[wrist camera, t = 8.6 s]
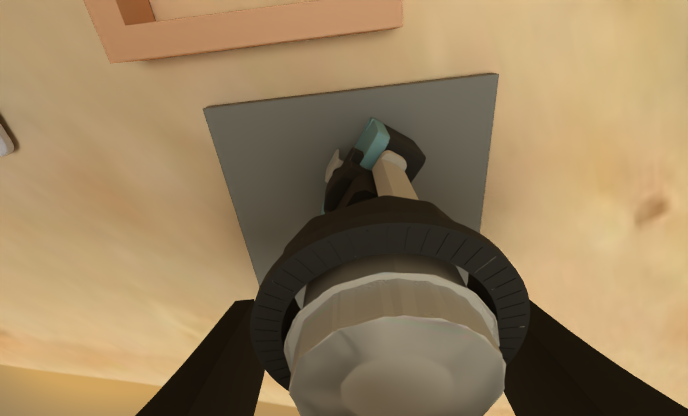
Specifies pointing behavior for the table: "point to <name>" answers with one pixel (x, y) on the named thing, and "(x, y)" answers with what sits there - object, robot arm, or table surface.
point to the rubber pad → (343, 133)
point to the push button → (388, 298)
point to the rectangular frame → (232, 26)
